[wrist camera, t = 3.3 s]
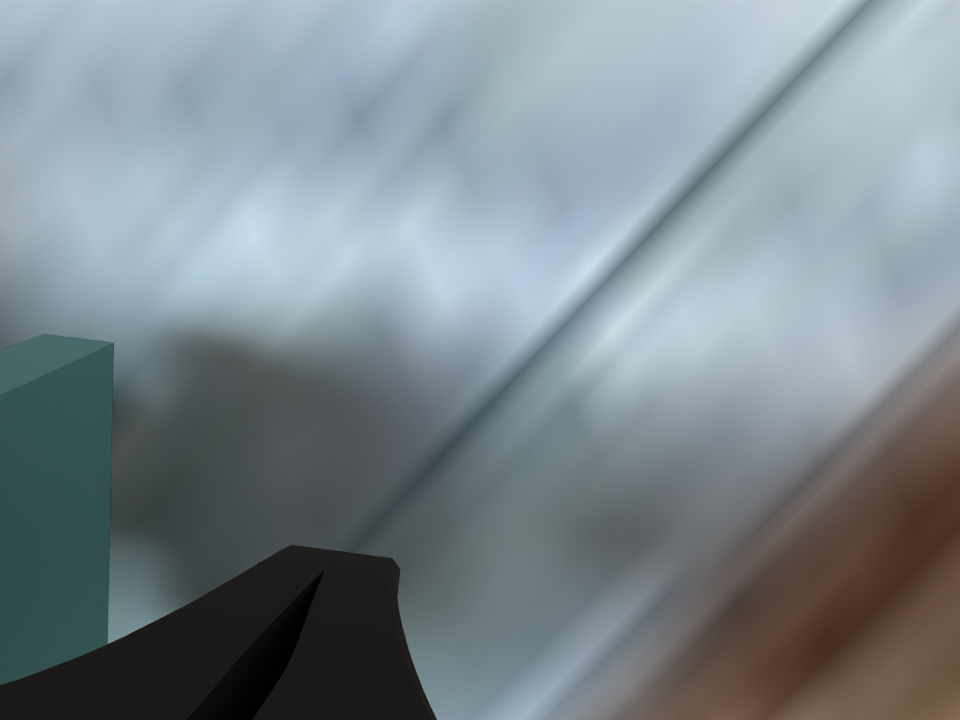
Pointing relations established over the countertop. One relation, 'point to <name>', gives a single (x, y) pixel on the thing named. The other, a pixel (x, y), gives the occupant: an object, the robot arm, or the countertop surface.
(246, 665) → the robot arm
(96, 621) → the shaft
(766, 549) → the countertop surface
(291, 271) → the countertop surface
